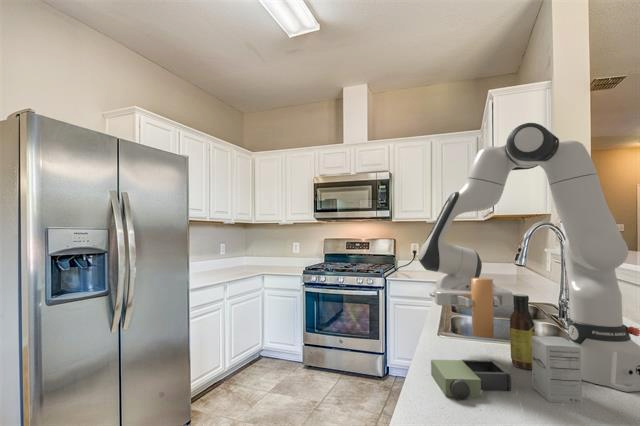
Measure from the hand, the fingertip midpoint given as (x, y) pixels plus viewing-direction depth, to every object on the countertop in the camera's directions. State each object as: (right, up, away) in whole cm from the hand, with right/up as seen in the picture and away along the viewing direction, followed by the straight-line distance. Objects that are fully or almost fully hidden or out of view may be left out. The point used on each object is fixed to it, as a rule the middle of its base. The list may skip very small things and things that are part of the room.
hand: (483, 303), depth 87 cm
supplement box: (+14, -20, -7) cm, 25 cm away
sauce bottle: (+16, -21, +11) cm, 29 cm away
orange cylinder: (0, -8, 0) cm, 8 cm away
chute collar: (0, -20, 0) cm, 20 cm away
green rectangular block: (-8, -20, -2) cm, 22 cm away
